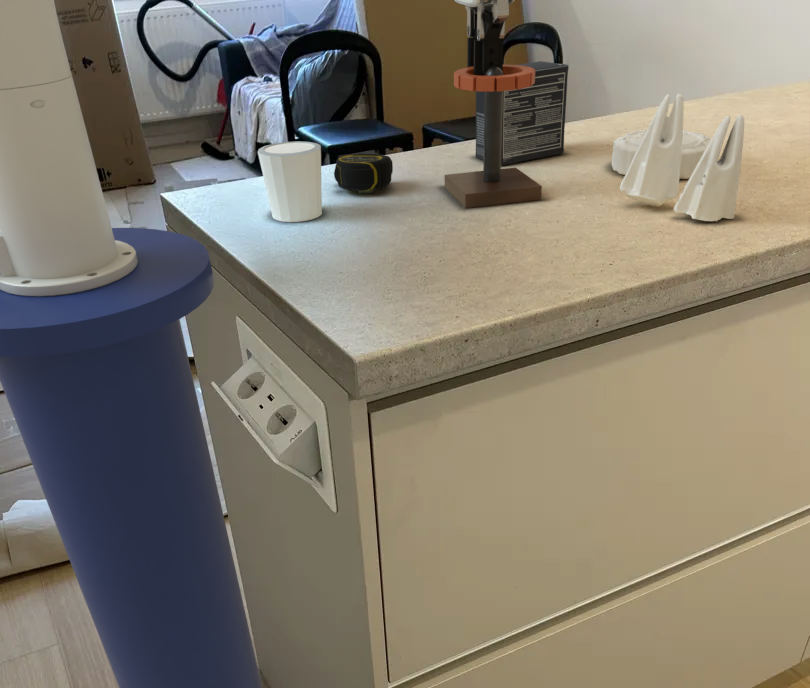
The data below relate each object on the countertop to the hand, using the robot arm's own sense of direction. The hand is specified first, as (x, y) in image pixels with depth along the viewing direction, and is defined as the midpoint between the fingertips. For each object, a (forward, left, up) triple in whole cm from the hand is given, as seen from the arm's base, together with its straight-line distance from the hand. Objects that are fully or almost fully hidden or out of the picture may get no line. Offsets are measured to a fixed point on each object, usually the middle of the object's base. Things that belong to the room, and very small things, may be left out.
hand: (484, 78), depth 90 cm
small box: (+9, +12, -12) cm, 19 cm away
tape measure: (-14, +4, -12) cm, 19 cm away
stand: (0, -4, -11) cm, 12 cm away
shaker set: (+16, -18, -12) cm, 26 cm away
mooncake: (+23, -1, -12) cm, 26 cm away
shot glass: (-23, -4, -12) cm, 26 cm away
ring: (0, -4, 0) cm, 4 cm away
